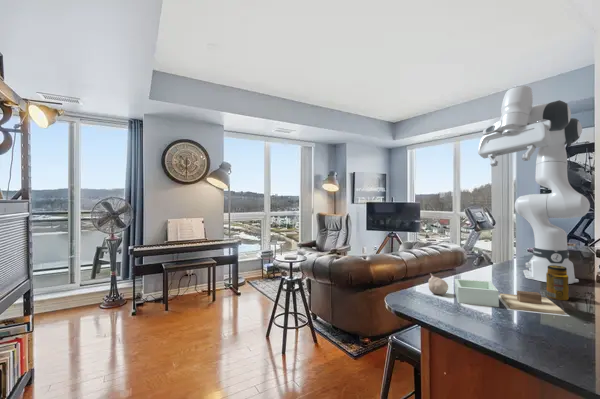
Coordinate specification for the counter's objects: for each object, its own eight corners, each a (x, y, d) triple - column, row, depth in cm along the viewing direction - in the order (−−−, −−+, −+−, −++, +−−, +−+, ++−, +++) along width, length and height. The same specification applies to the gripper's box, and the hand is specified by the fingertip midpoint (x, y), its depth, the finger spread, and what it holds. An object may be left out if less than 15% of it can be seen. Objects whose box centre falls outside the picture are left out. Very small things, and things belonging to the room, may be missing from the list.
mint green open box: (455, 294, 113) (454, 278, 113) (491, 297, 108) (490, 281, 108) (458, 304, 102) (458, 287, 102) (499, 308, 97) (498, 290, 97)
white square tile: (496, 296, 109) (496, 294, 109) (548, 301, 103) (548, 299, 103) (507, 311, 95) (507, 309, 95) (570, 318, 89) (570, 316, 89)
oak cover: (499, 296, 108) (499, 285, 108) (546, 300, 103) (546, 289, 103) (510, 308, 95) (510, 296, 95) (564, 314, 90) (564, 301, 90)
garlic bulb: (438, 290, 118) (438, 271, 118) (451, 295, 112) (451, 274, 112) (425, 292, 116) (425, 272, 116) (437, 297, 109) (437, 276, 110)
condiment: (573, 300, 104) (572, 267, 104) (565, 305, 100) (564, 270, 100) (547, 294, 110) (547, 263, 111) (539, 299, 106) (538, 266, 106)
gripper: (555, 122, 91) (552, 160, 88) (487, 139, 109) (482, 172, 105) (546, 112, 89) (543, 150, 85) (478, 131, 106) (472, 164, 103)
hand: (509, 162), depth 95 cm, fingers open, 8 cm apart
